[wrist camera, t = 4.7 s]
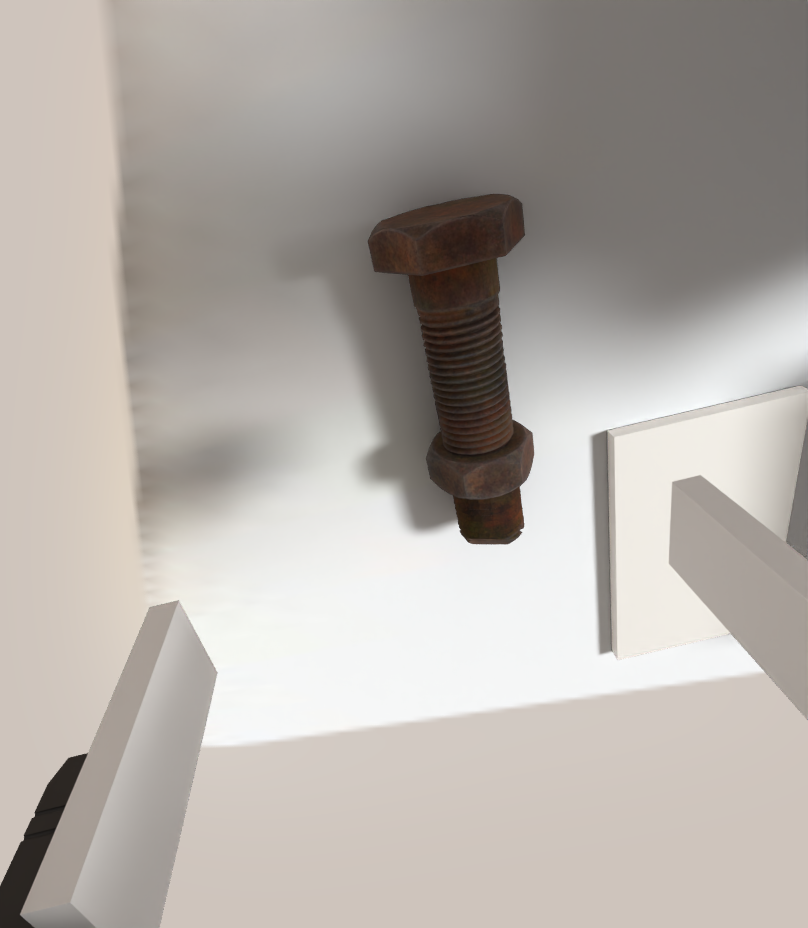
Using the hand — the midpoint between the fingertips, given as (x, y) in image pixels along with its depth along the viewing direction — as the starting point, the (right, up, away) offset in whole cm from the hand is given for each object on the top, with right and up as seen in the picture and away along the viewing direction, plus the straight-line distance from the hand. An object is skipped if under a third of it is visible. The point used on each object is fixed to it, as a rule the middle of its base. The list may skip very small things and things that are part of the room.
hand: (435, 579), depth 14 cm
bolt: (+2, +7, +11) cm, 13 cm away
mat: (+16, -1, +17) cm, 23 cm away
